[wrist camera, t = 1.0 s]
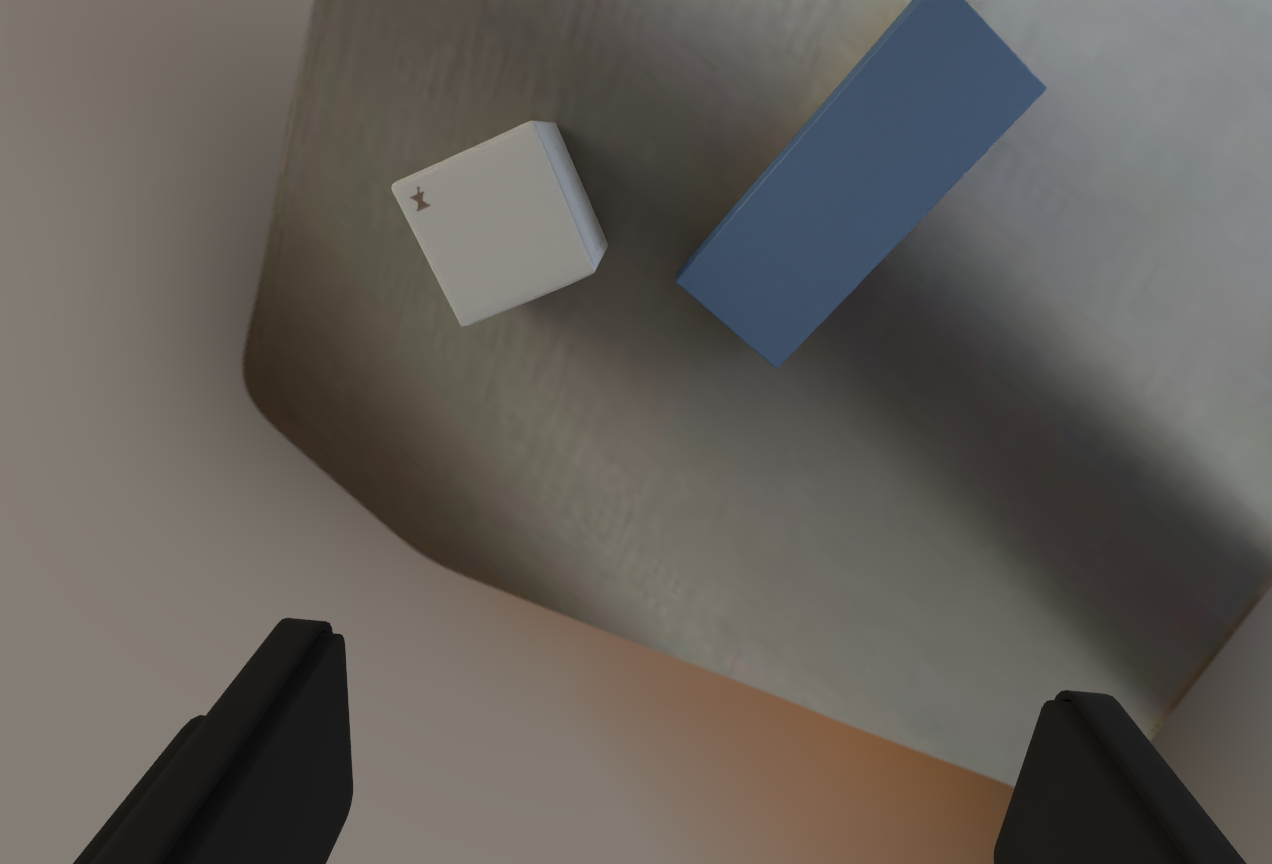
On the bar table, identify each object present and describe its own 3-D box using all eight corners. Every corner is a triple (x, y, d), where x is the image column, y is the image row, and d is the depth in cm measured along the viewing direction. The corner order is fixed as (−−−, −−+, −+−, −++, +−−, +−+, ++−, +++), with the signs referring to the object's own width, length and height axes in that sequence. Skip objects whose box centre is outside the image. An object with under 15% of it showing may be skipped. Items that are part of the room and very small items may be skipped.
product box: (495, 294, 38) (457, 332, 31) (437, 172, 36) (383, 183, 29) (611, 247, 37) (599, 274, 30) (558, 118, 35) (532, 116, 28)
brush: (912, -10, 33) (941, -26, 29) (1008, 92, 34) (1048, 88, 30) (674, 267, 37) (675, 281, 34) (767, 347, 39) (776, 369, 35)
